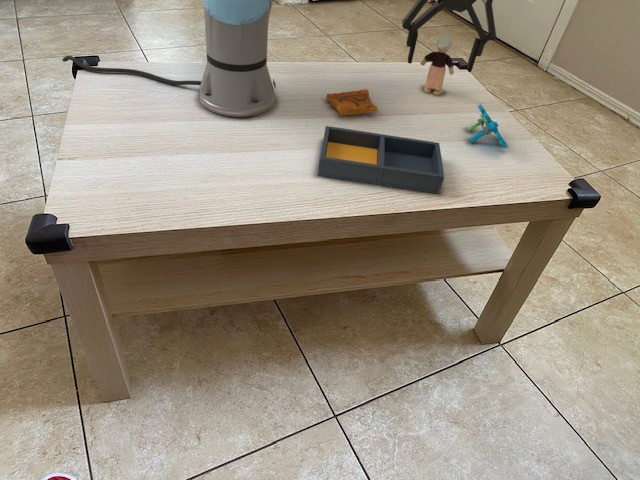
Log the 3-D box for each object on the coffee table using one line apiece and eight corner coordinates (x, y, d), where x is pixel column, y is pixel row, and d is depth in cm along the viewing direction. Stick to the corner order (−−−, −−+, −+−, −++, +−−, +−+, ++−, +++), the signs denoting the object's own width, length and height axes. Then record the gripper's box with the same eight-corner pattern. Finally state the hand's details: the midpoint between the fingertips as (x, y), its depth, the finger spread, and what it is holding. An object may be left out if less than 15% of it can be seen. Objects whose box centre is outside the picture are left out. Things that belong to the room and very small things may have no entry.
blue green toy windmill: (515, 152, 94) (491, 113, 90) (487, 169, 96) (463, 131, 92) (501, 130, 103) (478, 93, 99) (475, 146, 105) (452, 110, 101)
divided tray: (317, 175, 84) (319, 158, 82) (323, 142, 92) (325, 125, 90) (438, 193, 84) (444, 177, 82) (434, 158, 92) (439, 142, 90)
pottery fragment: (341, 108, 96) (326, 77, 102) (336, 126, 100) (322, 95, 105) (386, 106, 100) (369, 76, 105) (379, 123, 103) (363, 94, 109)
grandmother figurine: (447, 90, 115) (463, 36, 106) (446, 97, 112) (463, 42, 103) (415, 83, 116) (429, 29, 107) (413, 90, 113) (428, 35, 104)
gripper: (526, -36, 98) (491, 65, 112) (404, -53, 98) (384, 51, 112) (534, -26, 92) (496, 79, 107) (405, -44, 92) (384, 64, 107)
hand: (439, 65), depth 110 cm, fingers open, 13 cm apart
